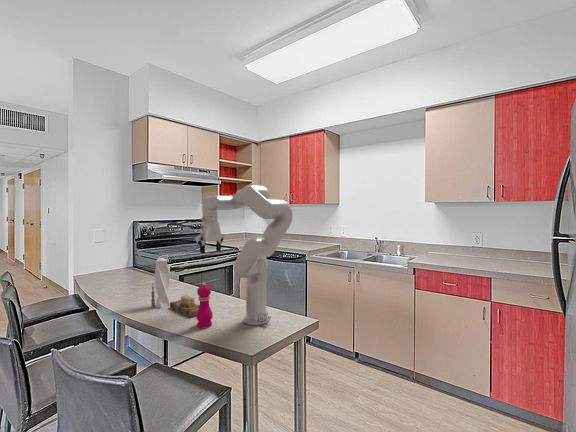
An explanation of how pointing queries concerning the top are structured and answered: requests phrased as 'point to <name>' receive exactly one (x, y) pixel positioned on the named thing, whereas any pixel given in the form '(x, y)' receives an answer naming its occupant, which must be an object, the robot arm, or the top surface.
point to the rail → (184, 309)
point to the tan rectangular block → (187, 301)
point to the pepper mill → (204, 307)
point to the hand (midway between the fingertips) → (210, 252)
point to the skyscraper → (161, 283)
